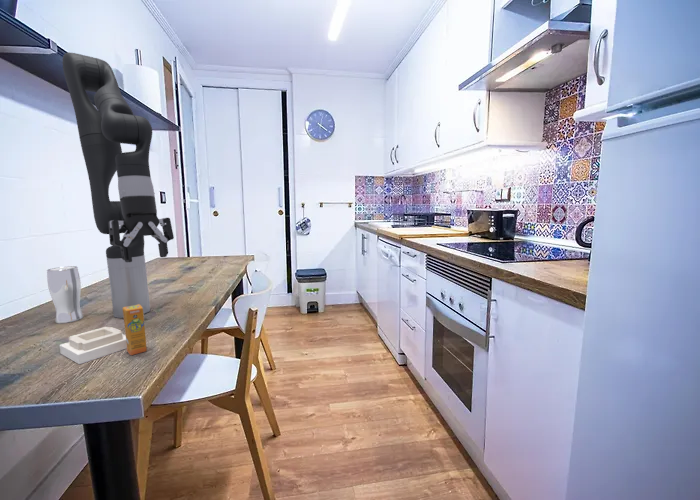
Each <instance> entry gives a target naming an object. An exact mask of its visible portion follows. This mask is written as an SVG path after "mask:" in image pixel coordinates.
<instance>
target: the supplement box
mask: <svg viewBox="0 0 700 500" xmlns="http://www.w3.org/2000/svg"><path fill="white" fill-rule="evenodd" d="M122 309H123V316H124V318H123V322H124V333H125V334H124V335H126V344H127V348H126V351H127V353H128V354H129V355H130V356H134V355H137V354H141V353H145V352H147V351H148V349H147V339H146V338H147V337H146V336H147V335H146V328H145V315H144V314H143V308H142V306H141V305H140V304H138V305H134V306H128V307H123V308H122Z"/></svg>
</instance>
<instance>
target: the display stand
mask: <svg viewBox="0 0 700 500" xmlns="http://www.w3.org/2000/svg"><path fill="white" fill-rule="evenodd" d="M124 350H127V344H126V334H124V333H123V331H122V330H120V329H118V328H115V327H112V326H110V327H108V326H103V327H100V328H96V329H92V330H88V331H85V332H82V333H78V334H74V335H70V336H69V337H68V342H65V343H60V344H59V351H60V352H59V353H60V355H62V356H64V357H66V358H67V359H69V360H71V361H73V362H75V363H76V364H78V365H82V364H85V363H88V362H91V361H95V360H96V359H100V358H103V357H106V356H109V355H112V354H114V353H117V352H121V351H124Z"/></svg>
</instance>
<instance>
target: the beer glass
mask: <svg viewBox="0 0 700 500" xmlns="http://www.w3.org/2000/svg"><path fill="white" fill-rule="evenodd" d="M78 268H79V267H78V266H77V265H76V266H74V265H73V266H69V265H68V266H59V267H54V268H48V269H47V270H46V277H47V278H46V279H47V287H48V288H47V289H48V292H49V295H50V298H51V300H52V302H53V305H54V307H55V308H54V309H55V320H54V321H55V324H60V325H61V324H67V323H69V324H70V323H73V322H77V321H81V320H83V318H84V314H83V312H82V308H81V292H82V291H81V290H82V285H81V283H82V282H81V277H80V271H79V269H78Z"/></svg>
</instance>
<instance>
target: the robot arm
mask: <svg viewBox="0 0 700 500" xmlns="http://www.w3.org/2000/svg"><path fill="white" fill-rule="evenodd" d="M61 63H62V69H63V75H64V79H65V82H66V85H67V90H68V92H69V96H70V99H71V103H72V106H73V109H74V114H75V119H76V125H77V131H78V136H79V142H80V147H81V151H82V156H83V159H84V164H85V166H86V170H87V171H86V172H87V177H88V181H89V187H90V195H91V203H92V210H93V211H92V212H93V218H94V221H95V222H94V223H95V225H96V227H97V230H98V232H99V233H100V234H103V235H109V244H110V245H111V246H108V247H107V248H106V250H105V256H106V263H107V271H108V273H107V274H108V279H109V280H108V281H109V288H110V296H111V302H112V303H111V304H112V305H111V306H112V312H113V313H112V314H113V317H114V318H118V319H119V318H120V319H122V318H123V319H124V316H123V309H122V308H123V307H128V306H134V305H138V304H140V305H141V306H142V308H143V314H147V313H149V312H150V311H151V304H150V294H149V286H148V285H149V284H148V276H147V266H146V258H145V257H146V256H145V236H151V237H152V238H153V239H155V240H156V241H157V242H158V243H157V245H158V252H159V257H160V258H166V257H168V255H169V249H168V248H169V247H168V242H169V241H171V240H172V241H173V240H174V237H175V236H174V231H173V228H172V227H173V226H172V222H171V218H170V217H163V218H159V217H158V210H157V202H156V198H155V197H156V196H155V194H156V193H155V190H154V183H153V181H152V177H151V171H150V159H149V158H150V149H151V143H152V138H153V128H152V125H151V123H150V122H149V120H148V119H147V118H145V117H144V116H140V115H135V114H134V112H133V109H132V108H131V107H130V106H129V104H128V102H127V101H126V100H125V98H124V97H123V96H122V92H121V90H120V87H119V83H118V80H117V78H116V76H115V75H116V74H115V72H114V70H113V68H112V66H111V65H110V64H109V63H108V62H107V61H106V60H103V59H100V58H97V57H94V56H89V55H85V54H84V55H83V54H80V53H76V52H68V51H67V52H65V53H64V54H63V56H62V62H61ZM87 92H91V93H94V96H93V97H94V98H93V101H94V104H93V102H92V100H91V99H90V97H89V96H88V94H87ZM121 144H125V145H133V146H134V145H135V150H132V151H125V152H123V151H122V150H123V149H122V145H121ZM114 175H117V189H118V194H119V195H118V196H119V200H110V195H109V194H110V193H109V191H110V184H111V181H112V180H113V177H114ZM159 225H160V226H161V227H162V230H160V229H159V228H158V227H159ZM162 231H163V232H162ZM121 234H123V235H122V237H121V236H120V235H121Z"/></svg>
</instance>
